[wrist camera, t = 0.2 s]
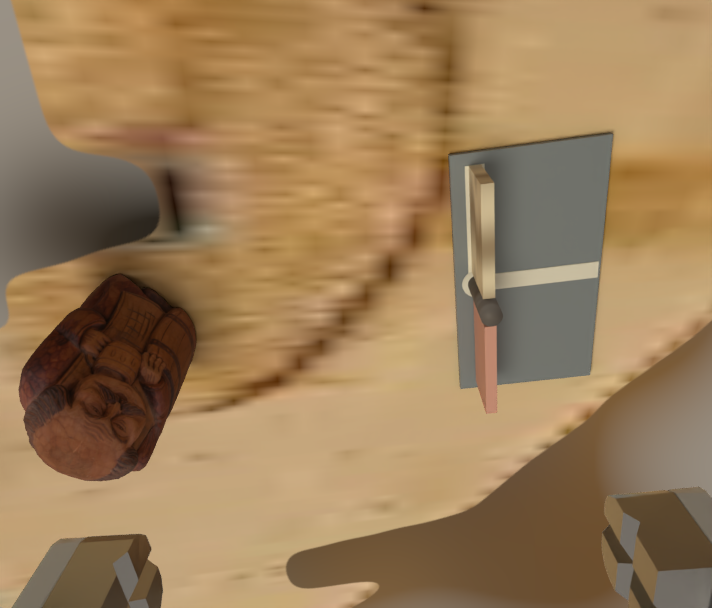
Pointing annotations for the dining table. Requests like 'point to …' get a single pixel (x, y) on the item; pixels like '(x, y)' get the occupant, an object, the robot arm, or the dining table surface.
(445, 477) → the dining table surface
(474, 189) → the fixed fence panel
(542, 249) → the card
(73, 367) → the wooden figurine
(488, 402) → the hinged fence panel
